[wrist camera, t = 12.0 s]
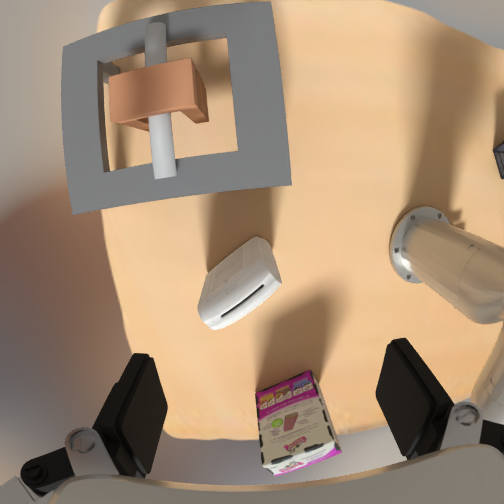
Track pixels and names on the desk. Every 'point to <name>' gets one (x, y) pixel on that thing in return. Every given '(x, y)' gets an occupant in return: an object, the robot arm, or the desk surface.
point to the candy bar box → (294, 425)
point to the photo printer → (239, 284)
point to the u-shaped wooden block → (157, 93)
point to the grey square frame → (161, 138)
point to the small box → (500, 158)
